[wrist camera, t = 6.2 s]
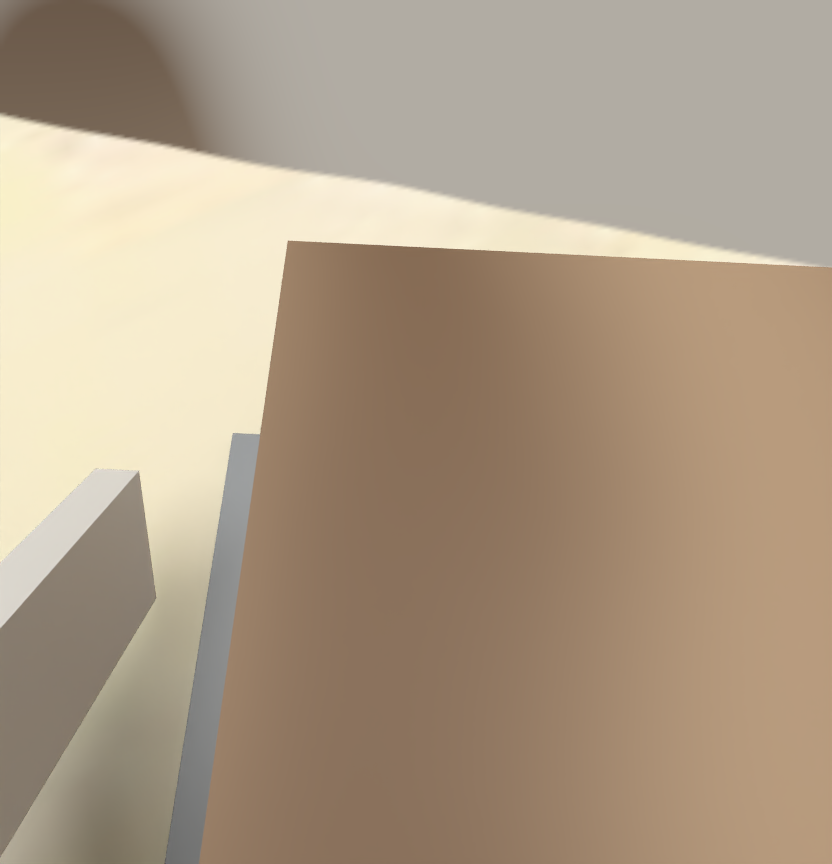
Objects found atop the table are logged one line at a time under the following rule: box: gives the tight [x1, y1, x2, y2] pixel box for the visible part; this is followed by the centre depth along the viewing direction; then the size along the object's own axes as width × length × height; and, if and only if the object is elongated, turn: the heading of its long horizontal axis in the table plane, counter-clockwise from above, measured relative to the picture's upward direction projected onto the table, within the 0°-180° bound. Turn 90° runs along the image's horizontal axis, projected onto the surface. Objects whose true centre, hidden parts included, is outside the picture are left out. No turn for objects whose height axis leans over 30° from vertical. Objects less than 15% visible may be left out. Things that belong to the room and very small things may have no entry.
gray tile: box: [165, 433, 260, 864], centre depth 16 cm, size 13×12×1 cm
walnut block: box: [199, 241, 832, 864], centre depth 10 cm, size 6×8×11 cm
